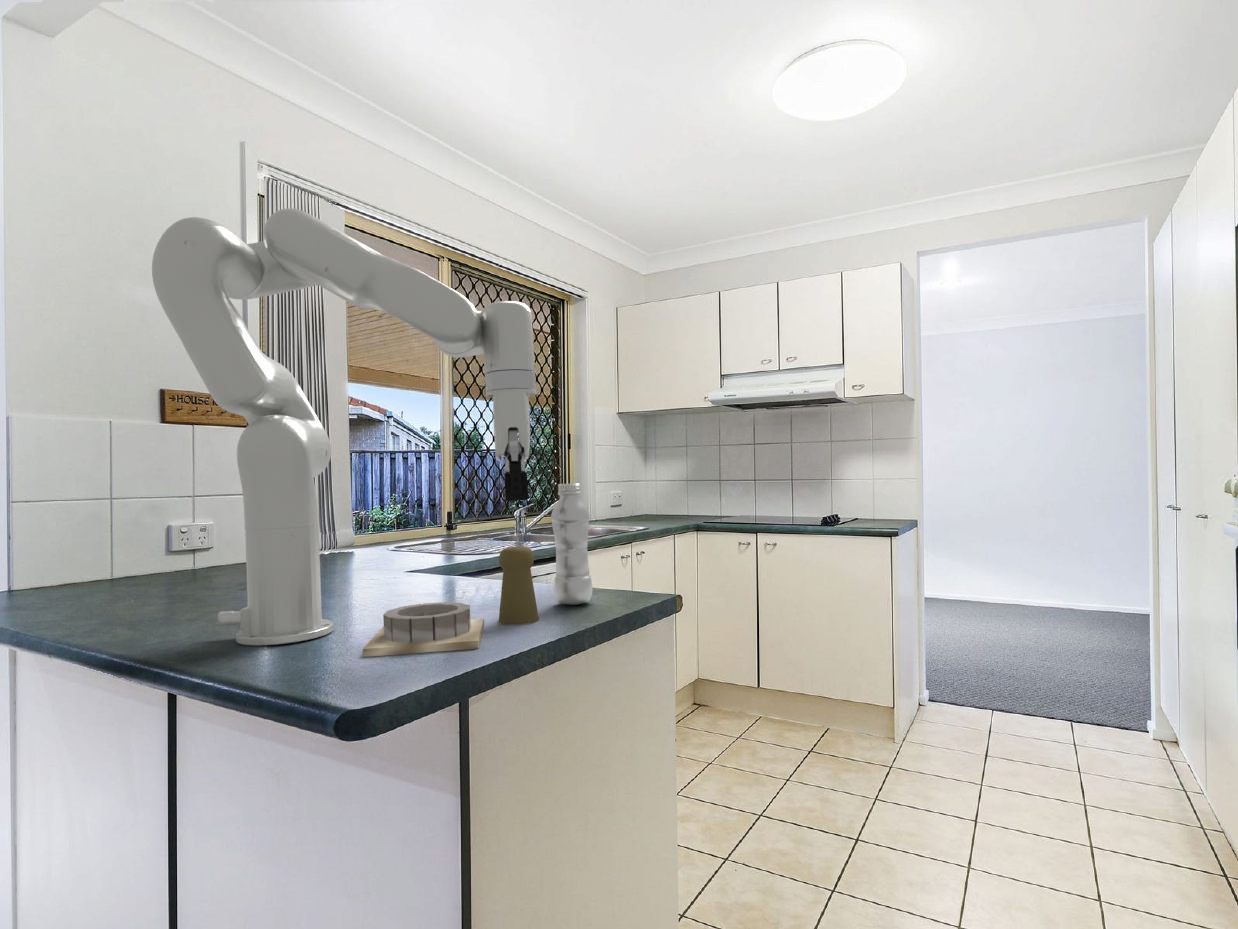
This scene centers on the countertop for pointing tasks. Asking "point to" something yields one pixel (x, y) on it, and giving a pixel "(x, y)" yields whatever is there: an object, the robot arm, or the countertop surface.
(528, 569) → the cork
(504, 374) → the robot arm
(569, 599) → the plastic bottle
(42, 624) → the countertop surface
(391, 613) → the ring collar
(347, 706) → the countertop surface
